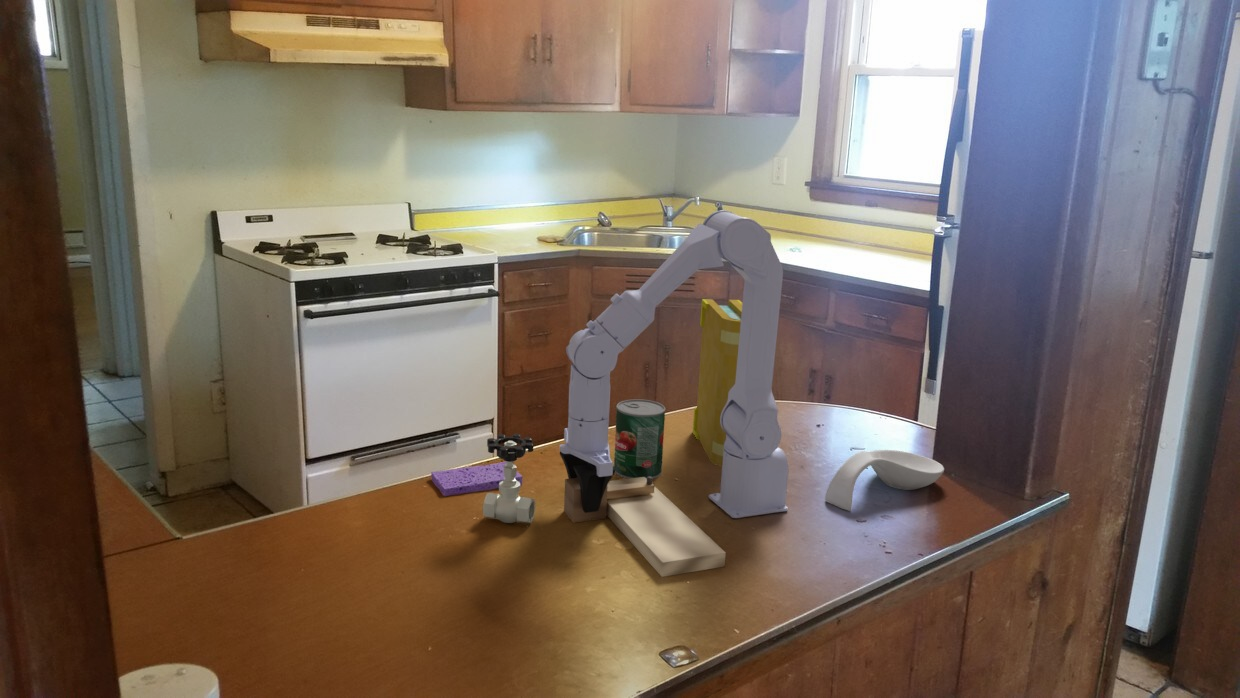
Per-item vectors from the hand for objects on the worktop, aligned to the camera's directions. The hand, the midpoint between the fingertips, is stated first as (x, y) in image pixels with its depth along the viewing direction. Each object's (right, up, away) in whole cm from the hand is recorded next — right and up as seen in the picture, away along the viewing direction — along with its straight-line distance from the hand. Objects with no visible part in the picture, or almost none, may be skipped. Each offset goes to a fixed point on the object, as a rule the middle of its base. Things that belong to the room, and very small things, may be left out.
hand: (585, 504), depth 132 cm
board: (+9, -3, -3) cm, 10 cm away
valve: (-11, -2, -3) cm, 11 cm away
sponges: (-17, +1, +10) cm, 20 cm away
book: (+23, +5, +29) cm, 37 cm away
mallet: (+4, -1, +2) cm, 4 cm away
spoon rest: (+47, -1, +15) cm, 49 cm away
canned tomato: (+8, +2, +17) cm, 19 cm away
